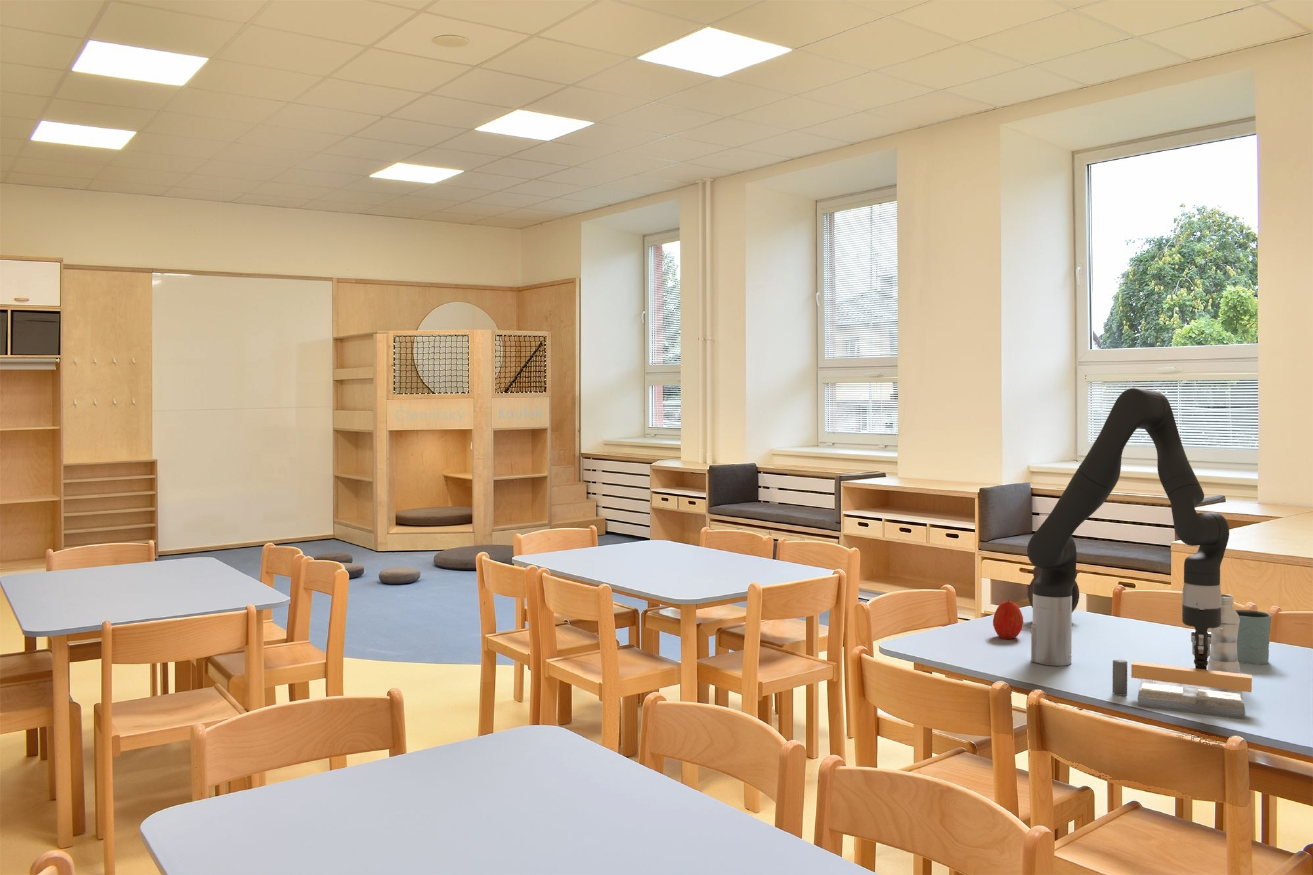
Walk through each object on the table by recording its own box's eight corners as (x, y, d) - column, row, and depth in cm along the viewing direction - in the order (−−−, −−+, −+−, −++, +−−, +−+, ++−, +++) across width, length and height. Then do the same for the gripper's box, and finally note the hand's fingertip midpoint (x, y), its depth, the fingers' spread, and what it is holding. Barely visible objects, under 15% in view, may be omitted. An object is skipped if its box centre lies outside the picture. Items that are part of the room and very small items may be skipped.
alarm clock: (1041, 624, 300) (1041, 557, 299) (1026, 619, 307) (1026, 554, 306) (1083, 621, 304) (1083, 555, 303) (1067, 617, 311) (1067, 552, 310)
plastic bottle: (1244, 684, 235) (1245, 598, 235) (1212, 682, 237) (1213, 597, 236) (1234, 676, 242) (1235, 593, 241) (1203, 675, 243) (1204, 592, 242)
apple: (1028, 641, 280) (1028, 602, 279) (998, 641, 280) (998, 602, 279) (1018, 634, 288) (1018, 596, 287) (988, 634, 288) (989, 596, 288)
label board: (1137, 706, 219) (1138, 695, 219) (1140, 687, 233) (1141, 677, 233) (1244, 719, 210) (1245, 707, 209) (1241, 698, 224) (1241, 688, 224)
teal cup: (1259, 667, 251) (1260, 618, 250) (1217, 658, 259) (1217, 612, 258) (1278, 660, 257) (1278, 613, 256) (1236, 653, 265) (1236, 607, 264)
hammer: (1111, 693, 227) (1111, 661, 227) (1113, 690, 230) (1113, 659, 230) (1251, 712, 213) (1251, 678, 213) (1251, 708, 216) (1251, 674, 215)
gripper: (1183, 596, 230) (1182, 671, 230) (1181, 608, 218) (1180, 687, 219) (1221, 599, 226) (1220, 676, 227) (1221, 611, 214) (1220, 692, 215)
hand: (1200, 681), depth 223 cm, fingers closed
